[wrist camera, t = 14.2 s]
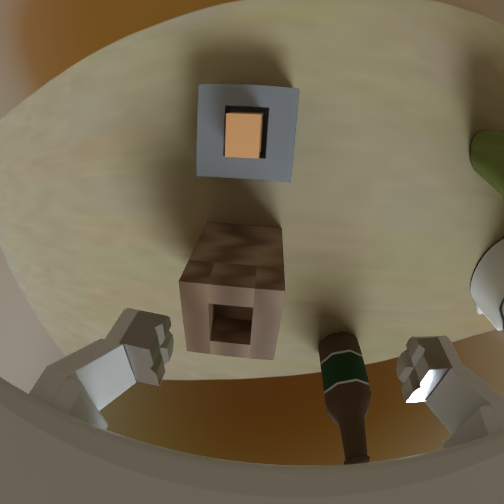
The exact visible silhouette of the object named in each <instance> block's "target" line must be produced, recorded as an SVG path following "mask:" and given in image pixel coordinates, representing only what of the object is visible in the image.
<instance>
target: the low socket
mask: <svg viewBox="0 0 504 504" xmlns="http://www.w3.org/2000/svg"><path fill="white" fill-rule="evenodd" d="M298 100H299V89H298V88H289V87H278V86H265V85H247V84H199V88H198V113H197V167H196V176H203V177H224V178H241V179H255V180H268V181H279V182H290V183H291V175H292V165H293V155H294V145H295V134H296V123H297V112H298ZM237 111H238V112H261V113H263V131H262V147H261V151H260V155H259V159H257V158H238V157H225V135H226V113H231V112H237Z"/></svg>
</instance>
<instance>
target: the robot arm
mask: <svg viewBox="0 0 504 504" xmlns="http://www.w3.org/2000/svg"><path fill="white" fill-rule="evenodd" d="M471 295H472V298H473V299H474V301H475V303H476V312H477V313H478V314H483V313H484V314H485V316H486V317H487V318H488V319H489V320H490V322H491V323H492V324H493V325H494V326H495V327H496V329H497V330H503V331H504V238H503V239H502V240H501V241H499V242H498V243H496V244H495V245H494V246H493V247H491V248H490V249H489V250H488V251H487V253H486V254H485V255H484V256H483V258H482V259H481V261H480V262H479V264H478V266H477V268H476V270H475V272H474V275H473V278H472V281H471ZM170 327H171V322H170V317H168V316H165V315H160V314H155V313H151V312H146V311H139V310H135V309H131V308H127V309H125V310H124V311H123V312H122V314H121V315H120V317H119V318H118V320H117V321H116V323H115V324H114V326H113V327H112V329H111V330H110V332H109V334H108V335H107V337H106V338H105V339H99V340H97V341H95V342H94V343H92V344H90V345H88V346H86V347H84V348H82V349H80V350H78V351H76V352H74V353H72V354H70V355H68V356H66V357H64V358H63V359H61V360H59V361H57V362H55V363H53V364H51V365H49V366H47V367H46V369H45V370H44V371H43V373H42V374H41V376H40V378H39V379H38V381H37V382H36V384H35V385H34V387H33V388H32V390H31V391H30V393H29V394H28V393H26V392H24V391H22V390H21V389H19V388H17V387H15V386H14V385H12V384H10V383H9V382H7V381H6V380H4V379H3V378H1V377H0V504H504V397H503V396H502V395H500V394H499V393H498V392H497V391H496V390H494V389H493V388H492V387H491V386H489V385H488V384H487V383H486V382H485V381H483V380H482V379H481V378H480V377H478V376H477V375H476V374H475V373H473V372H472V371H471V370H470V369H468V368H467V367H463V365H462V363H461V361H460V359H459V357H458V355H457V353H456V351H455V349H454V347H453V345H452V343H451V341H450V340H449V338H448V337H447V336H424V337H411V338H410V339H409V340H408V342H407V344H406V346H407V350H405V351H404V352H403V353H401V355H400V357H399V359H398V363H397V374H398V378H399V379H400V380H401V381H402V382H403V383H404V384H403V386H402V391H403V395H404V398H405V402H406V403H409V402H420V401H425V403H426V405H427V406H428V407H429V408H430V409H431V410H432V412H433V413H434V414H435V415H436V416H437V417H438V419H439V420H440V421H441V422H442V423H443V424H444V426H445V427H446V428H447V429H448V430H449V432H450V433H451V434H452V435H451V436H450V437H449V438H448V439H447V440H445V441H444V443H443V449H441V450H437V451H433V452H429V453H424V454H420V455H415V456H410V457H404V458H398V459H392V460H385V461H377V462H369V463H359V464H346V465H327V466H288V465H269V464H256V463H246V462H237V461H229V460H222V459H216V458H210V457H204V456H198V455H194V454H188V453H184V452H179V451H175V450H171V449H167V448H163V447H158V446H155V445H151V444H148V443H144V442H141V441H138V440H134V439H131V438H128V437H125V436H122V435H119V434H116V433H113V432H111V431H108V430H106V428H107V426H108V425H107V423H106V421H105V419H104V418H103V416H102V415H101V413H100V412H99V410H101V409H102V408H103V407H105V406H106V405H107V404H109V403H110V402H111V401H113V400H114V399H115V398H116V397H118V396H119V395H120V394H122V393H123V392H124V391H126V390H127V389H128V388H129V387H130V386H132V385H133V384H135V383H136V381H139V382H143V383H148V384H152V385H157V386H160V384H161V381H162V379H163V376H164V373H165V367H164V364H166V363H167V362H169V361H170V358H171V355H172V351H173V335H172V334H171V332H170V331H169V329H170Z"/></svg>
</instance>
